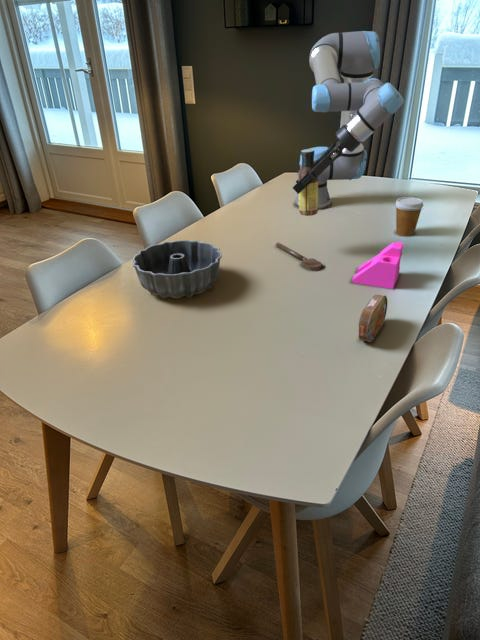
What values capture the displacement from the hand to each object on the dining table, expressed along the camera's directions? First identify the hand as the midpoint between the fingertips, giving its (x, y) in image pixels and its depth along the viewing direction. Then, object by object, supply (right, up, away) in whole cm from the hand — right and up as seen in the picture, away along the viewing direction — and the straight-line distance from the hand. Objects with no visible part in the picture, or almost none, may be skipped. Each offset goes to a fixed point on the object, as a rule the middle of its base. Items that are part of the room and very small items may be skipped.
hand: (297, 187), depth 149 cm
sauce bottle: (+4, -8, +4) cm, 9 cm away
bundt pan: (-36, -32, -6) cm, 49 cm away
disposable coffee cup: (+42, -11, +22) cm, 49 cm away
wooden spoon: (+1, -22, +7) cm, 23 cm away
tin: (+14, -45, -33) cm, 58 cm away
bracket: (+23, -30, -8) cm, 38 cm away
